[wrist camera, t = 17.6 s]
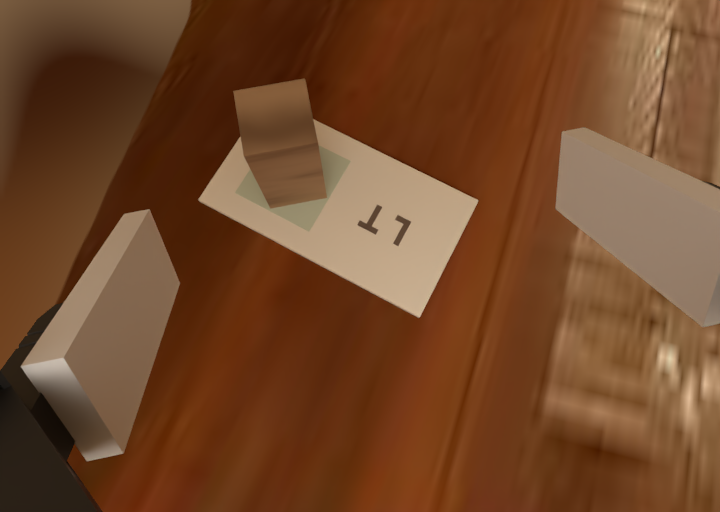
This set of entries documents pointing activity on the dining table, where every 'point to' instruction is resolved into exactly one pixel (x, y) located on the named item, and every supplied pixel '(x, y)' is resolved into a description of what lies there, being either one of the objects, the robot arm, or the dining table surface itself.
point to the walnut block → (281, 142)
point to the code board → (356, 218)
